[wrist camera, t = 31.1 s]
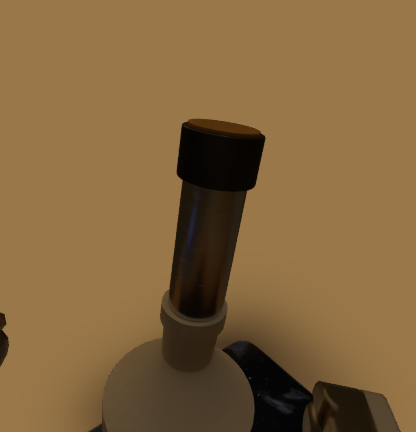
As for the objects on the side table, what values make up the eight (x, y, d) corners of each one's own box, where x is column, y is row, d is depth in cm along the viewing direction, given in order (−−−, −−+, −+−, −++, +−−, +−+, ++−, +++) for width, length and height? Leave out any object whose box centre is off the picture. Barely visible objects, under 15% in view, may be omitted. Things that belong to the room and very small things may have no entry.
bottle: (70, 526, 30) (62, 308, 20) (153, 423, 39) (175, 243, 30) (175, 638, 25) (233, 421, 15) (240, 488, 34) (301, 298, 25)
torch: (176, 333, 19) (204, 131, 15) (153, 288, 23) (170, 114, 18) (241, 318, 21) (284, 137, 17) (210, 279, 25) (238, 121, 20)
